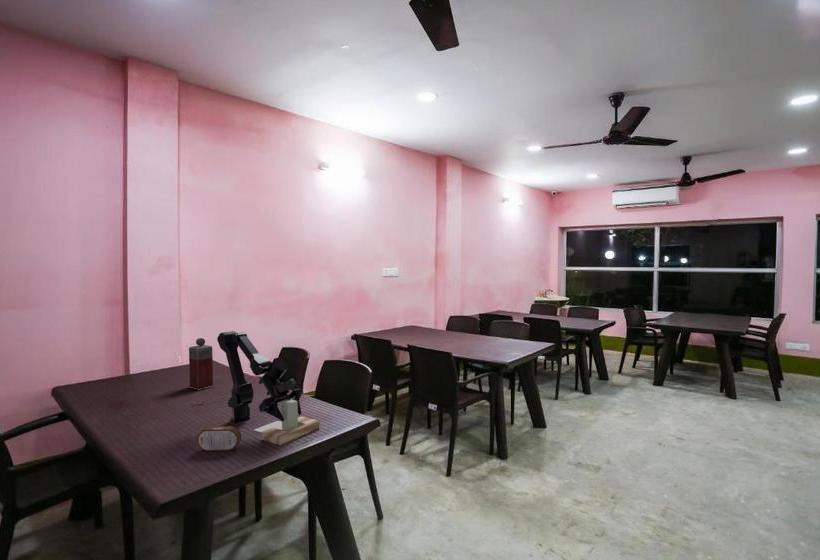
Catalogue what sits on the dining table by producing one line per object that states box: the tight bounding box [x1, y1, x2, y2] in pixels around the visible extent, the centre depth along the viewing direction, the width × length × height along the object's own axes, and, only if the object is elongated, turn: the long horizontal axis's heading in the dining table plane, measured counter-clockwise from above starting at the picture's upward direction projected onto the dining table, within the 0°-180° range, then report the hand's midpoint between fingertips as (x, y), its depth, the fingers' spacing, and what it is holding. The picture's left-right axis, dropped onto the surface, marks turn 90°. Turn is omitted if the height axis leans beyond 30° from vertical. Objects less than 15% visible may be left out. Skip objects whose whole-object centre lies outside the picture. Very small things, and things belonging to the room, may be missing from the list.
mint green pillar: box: [281, 400, 299, 432], centre depth 164 cm, size 7×8×12 cm
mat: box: [253, 420, 282, 434], centre depth 170 cm, size 10×12×1 cm
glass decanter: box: [188, 337, 214, 389], centre depth 234 cm, size 9×11×28 cm
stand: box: [261, 416, 321, 446], centre depth 164 cm, size 10×20×3 cm, turn 147°
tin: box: [196, 425, 242, 452], centre depth 150 cm, size 15×3×8 cm, turn 92°
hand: (292, 417), depth 164 cm, fingers open, 8 cm apart
